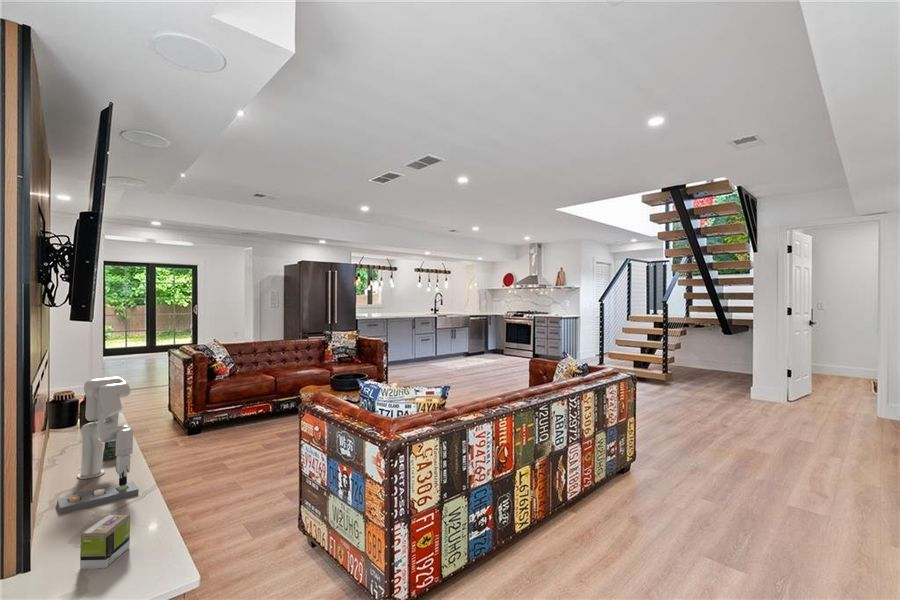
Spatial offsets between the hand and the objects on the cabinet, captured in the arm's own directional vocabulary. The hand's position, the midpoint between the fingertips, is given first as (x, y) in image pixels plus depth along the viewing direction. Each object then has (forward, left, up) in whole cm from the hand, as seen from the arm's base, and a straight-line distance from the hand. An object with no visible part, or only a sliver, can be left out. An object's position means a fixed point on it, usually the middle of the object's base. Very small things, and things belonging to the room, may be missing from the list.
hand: (122, 484), depth 235 cm
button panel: (0, -10, -5) cm, 11 cm away
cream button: (0, -10, -4) cm, 11 cm away
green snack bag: (-66, +6, -5) cm, 67 cm away
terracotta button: (0, -20, -4) cm, 21 cm away
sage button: (0, 0, -3) cm, 4 cm away
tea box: (+66, -17, -5) cm, 68 cm away
